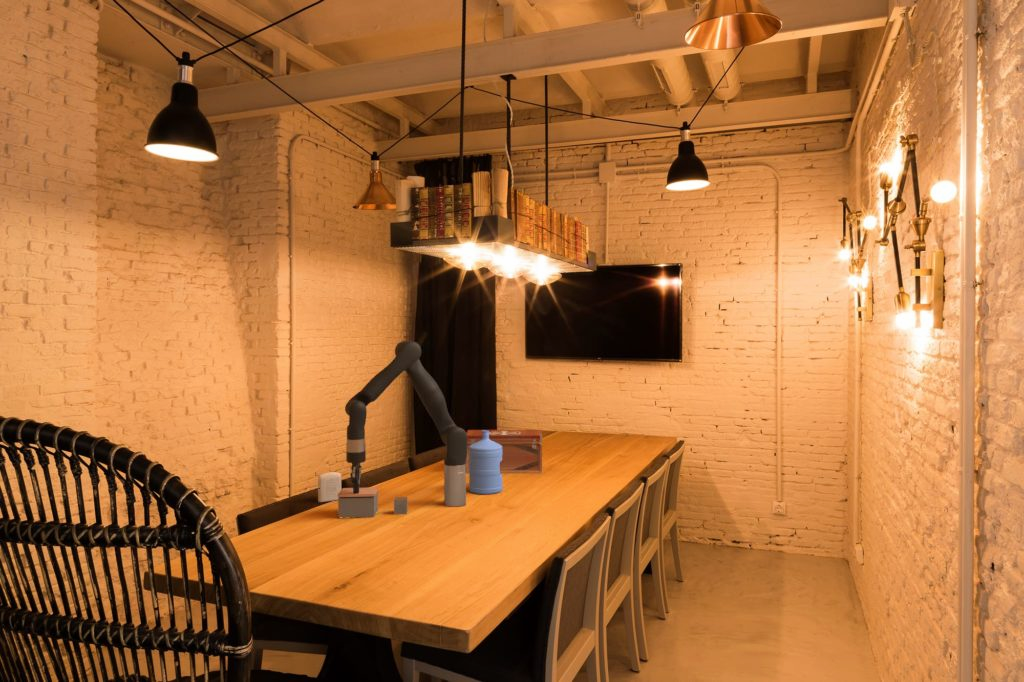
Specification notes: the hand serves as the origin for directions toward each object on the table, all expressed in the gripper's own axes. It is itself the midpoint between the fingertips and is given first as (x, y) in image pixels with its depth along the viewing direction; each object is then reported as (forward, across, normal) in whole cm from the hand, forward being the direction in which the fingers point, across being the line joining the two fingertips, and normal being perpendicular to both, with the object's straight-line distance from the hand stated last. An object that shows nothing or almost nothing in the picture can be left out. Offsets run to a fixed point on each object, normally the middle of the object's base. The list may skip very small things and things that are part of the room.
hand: (356, 493), depth 273 cm
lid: (+1, +4, 0) cm, 4 cm away
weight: (+10, +4, -17) cm, 20 cm away
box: (+10, +4, 0) cm, 10 cm away
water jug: (+10, +39, -53) cm, 67 cm away
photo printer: (+10, +28, +16) cm, 34 cm away
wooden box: (+10, +87, -64) cm, 109 cm away
